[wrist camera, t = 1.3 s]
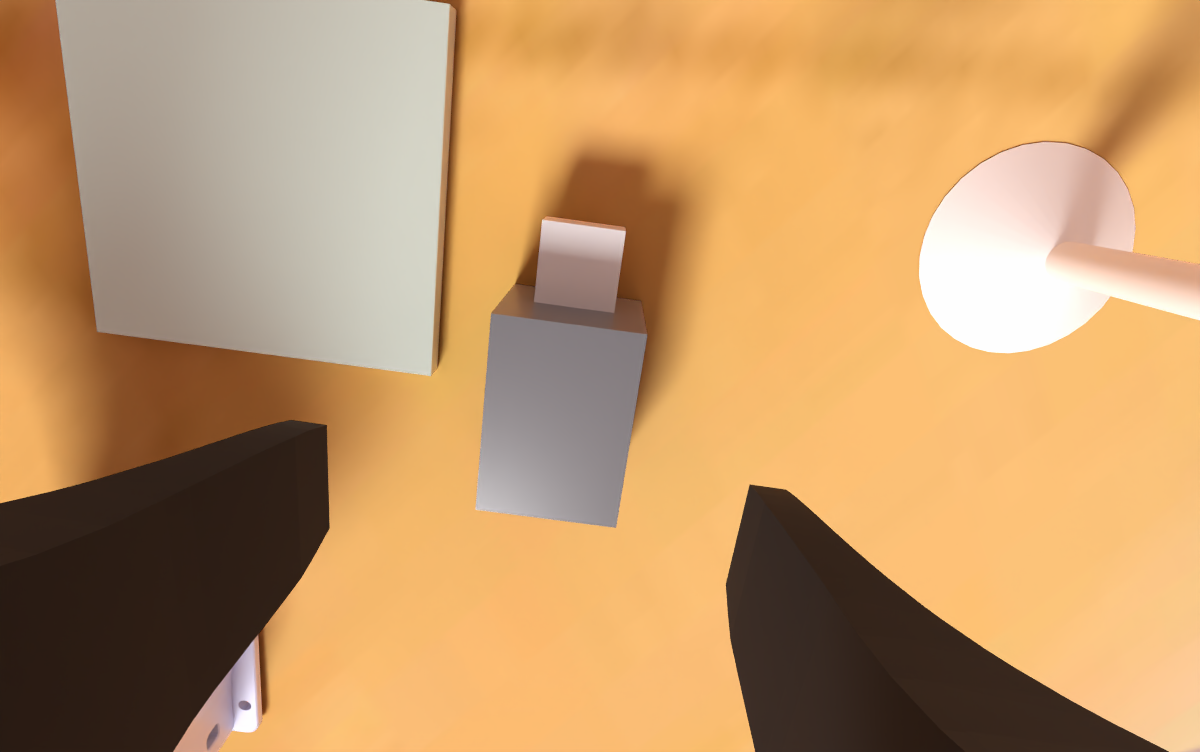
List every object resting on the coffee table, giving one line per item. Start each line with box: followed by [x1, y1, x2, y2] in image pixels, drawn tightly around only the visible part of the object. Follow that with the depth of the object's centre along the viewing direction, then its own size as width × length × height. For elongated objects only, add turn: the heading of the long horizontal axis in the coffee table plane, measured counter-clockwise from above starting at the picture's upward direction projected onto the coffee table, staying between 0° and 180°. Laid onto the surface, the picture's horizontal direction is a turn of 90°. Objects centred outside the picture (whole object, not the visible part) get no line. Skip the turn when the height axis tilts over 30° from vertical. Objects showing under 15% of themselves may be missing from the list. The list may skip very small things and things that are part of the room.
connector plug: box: [476, 216, 647, 528], centre depth 20 cm, size 8×4×4 cm, turn 172°
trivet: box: [55, 0, 456, 376], centre depth 20 cm, size 11×11×1 cm
